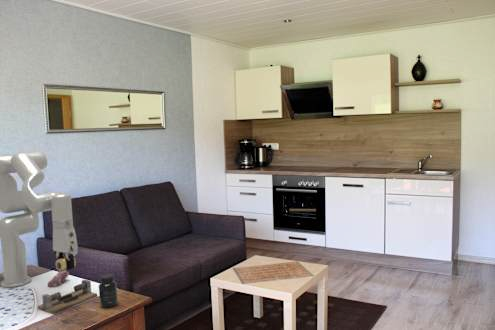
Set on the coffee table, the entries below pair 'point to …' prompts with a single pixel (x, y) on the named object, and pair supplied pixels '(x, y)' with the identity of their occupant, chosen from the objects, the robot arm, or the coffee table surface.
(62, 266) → the coupling sleeve
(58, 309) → the shaft bench
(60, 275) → the dusty red lumpy block
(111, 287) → the supplement bottle
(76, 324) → the coffee table surface
